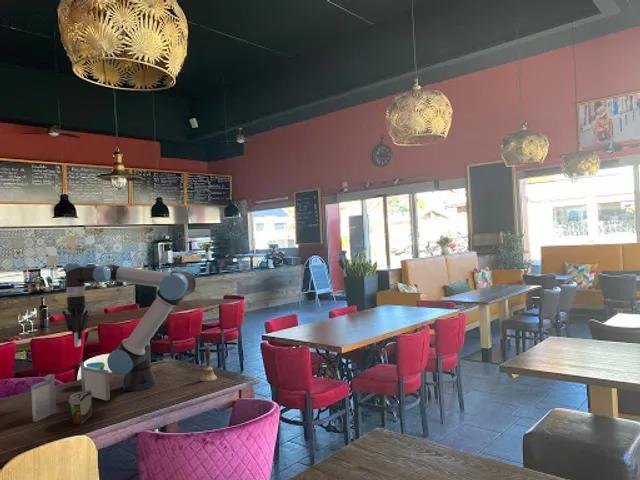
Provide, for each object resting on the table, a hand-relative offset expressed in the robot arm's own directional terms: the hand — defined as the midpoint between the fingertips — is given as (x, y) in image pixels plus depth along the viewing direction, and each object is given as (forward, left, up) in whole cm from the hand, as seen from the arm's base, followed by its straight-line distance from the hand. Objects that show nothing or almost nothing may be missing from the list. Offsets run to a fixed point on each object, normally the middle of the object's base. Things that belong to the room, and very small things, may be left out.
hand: (77, 346), depth 221 cm
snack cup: (+6, -19, -24) cm, 31 cm away
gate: (-12, +5, -22) cm, 26 cm away
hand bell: (-52, -28, -24) cm, 63 cm away
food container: (-21, +28, -24) cm, 42 cm away
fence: (-3, +15, -24) cm, 28 cm away
